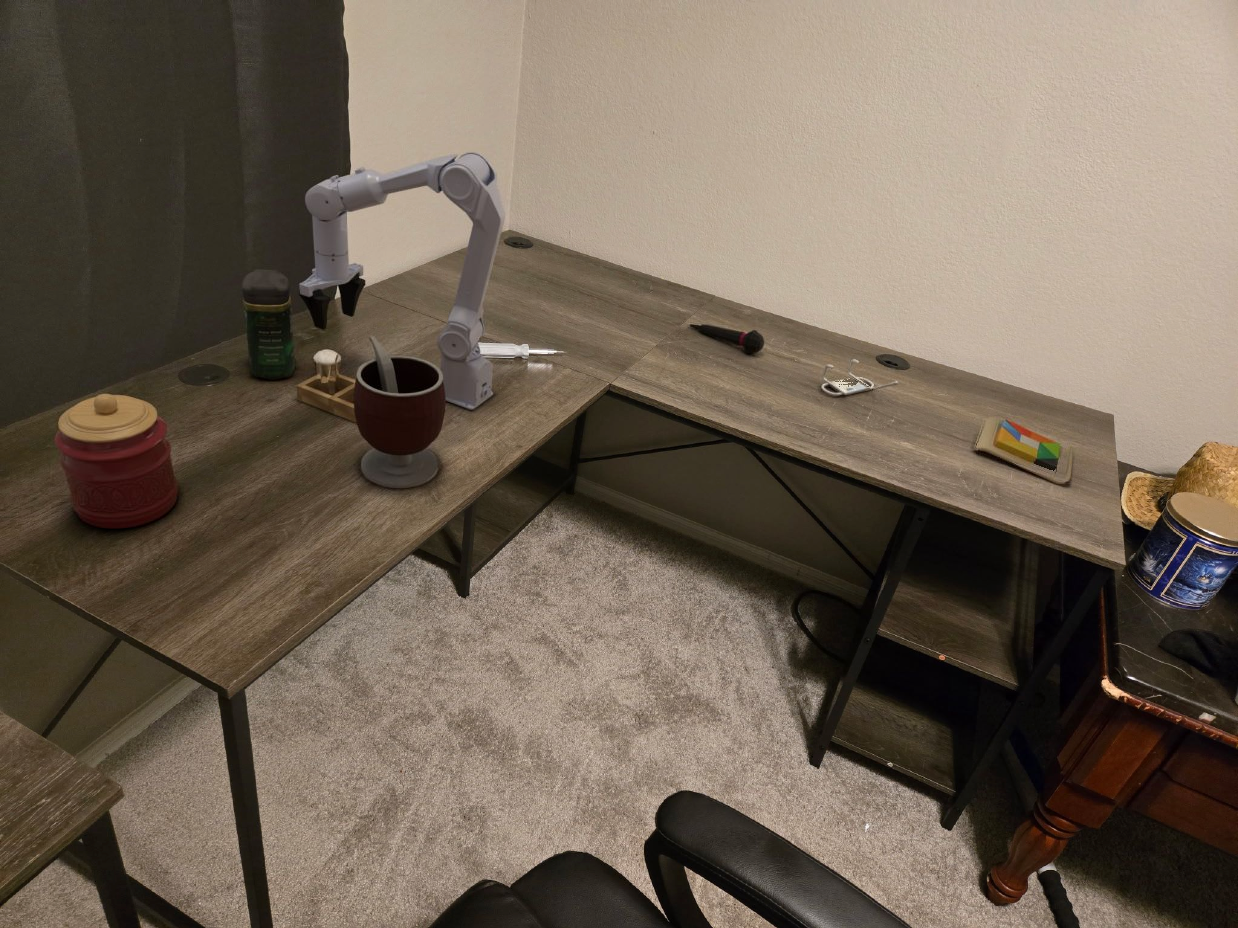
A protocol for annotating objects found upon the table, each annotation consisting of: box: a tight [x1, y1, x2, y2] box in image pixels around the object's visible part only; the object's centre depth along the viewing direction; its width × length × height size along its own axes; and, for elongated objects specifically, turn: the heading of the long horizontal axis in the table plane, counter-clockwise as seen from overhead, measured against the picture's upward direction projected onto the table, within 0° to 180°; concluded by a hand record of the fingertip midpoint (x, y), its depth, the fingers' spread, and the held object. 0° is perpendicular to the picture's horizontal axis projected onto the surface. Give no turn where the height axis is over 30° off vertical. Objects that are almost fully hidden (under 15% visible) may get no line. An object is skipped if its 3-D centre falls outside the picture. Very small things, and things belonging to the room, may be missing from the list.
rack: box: [296, 373, 357, 424], centre depth 143 cm, size 15×8×3 cm, turn 67°
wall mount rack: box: [820, 359, 899, 397], centre depth 180 cm, size 16×14×6 cm
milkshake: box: [312, 349, 342, 396], centre depth 142 cm, size 4×5×10 cm
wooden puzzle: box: [973, 416, 1075, 485], centre depth 169 cm, size 18×19×4 cm
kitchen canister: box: [54, 393, 179, 529], centre depth 109 cm, size 13×13×18 cm
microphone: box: [689, 323, 765, 355], centre depth 193 cm, size 6×6×20 cm
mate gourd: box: [353, 335, 447, 489], centre depth 126 cm, size 16×14×20 cm
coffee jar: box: [241, 269, 296, 380], centre depth 145 cm, size 10×8×19 cm
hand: (334, 321), depth 148 cm, fingers open, 7 cm apart
